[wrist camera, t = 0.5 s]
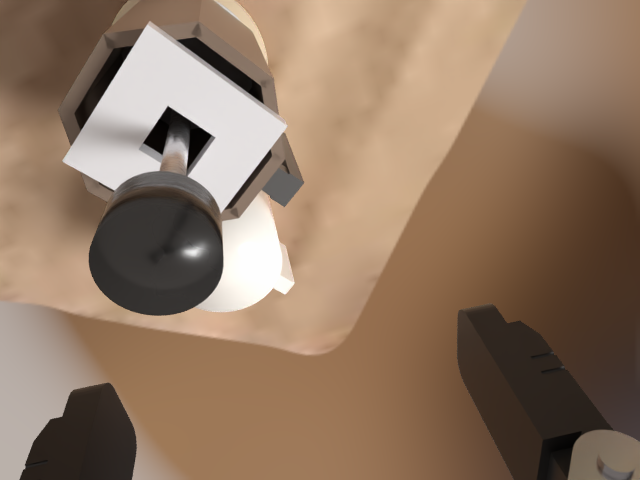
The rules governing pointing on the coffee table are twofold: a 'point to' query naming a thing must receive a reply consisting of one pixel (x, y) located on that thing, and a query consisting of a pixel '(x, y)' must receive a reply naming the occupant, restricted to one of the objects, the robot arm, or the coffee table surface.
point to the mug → (250, 260)
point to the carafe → (181, 103)
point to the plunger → (160, 236)
